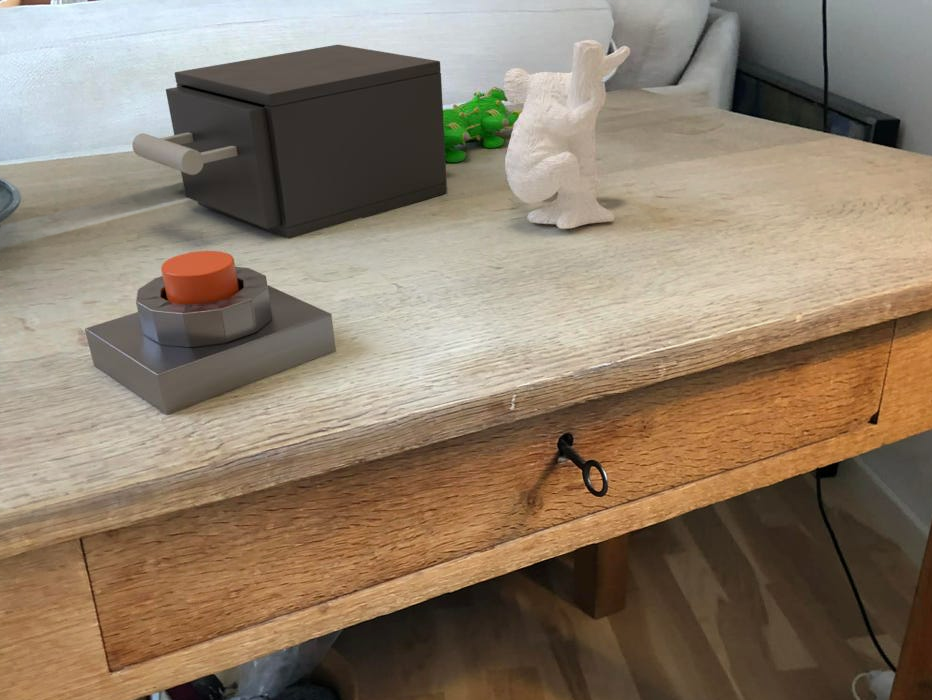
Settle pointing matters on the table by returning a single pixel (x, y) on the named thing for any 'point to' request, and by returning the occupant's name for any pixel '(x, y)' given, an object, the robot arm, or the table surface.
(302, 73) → the storage box
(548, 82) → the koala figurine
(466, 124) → the crocodile figurine
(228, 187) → the drawer
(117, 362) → the button block
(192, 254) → the button
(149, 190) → the table surface
